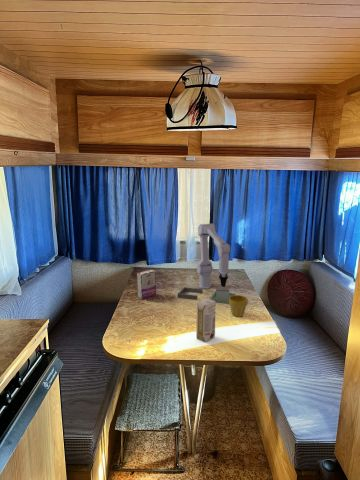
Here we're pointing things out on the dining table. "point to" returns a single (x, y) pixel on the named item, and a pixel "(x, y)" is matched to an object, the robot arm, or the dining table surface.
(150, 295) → the candy bar box
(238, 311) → the plant pot
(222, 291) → the grey upright block
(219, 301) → the tray
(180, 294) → the frame
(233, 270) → the dining table surface
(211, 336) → the juice carton
